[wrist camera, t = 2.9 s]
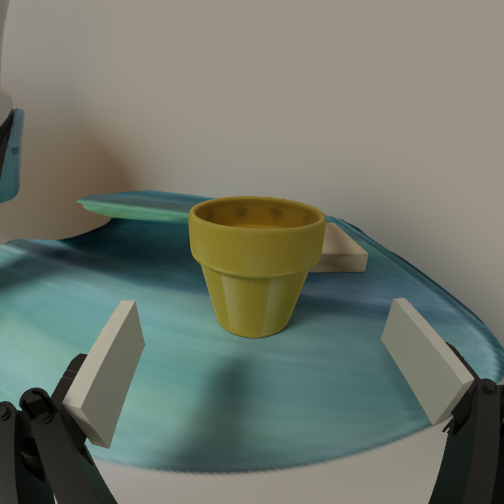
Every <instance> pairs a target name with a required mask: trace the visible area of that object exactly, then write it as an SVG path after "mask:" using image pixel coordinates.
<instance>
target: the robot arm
mask: <svg viewBox="0 0 504 504" xmlns="http://www.w3.org/2000/svg"><path fill="white" fill-rule="evenodd" d="M8 4H9V0H0V70H1V53H2V42H3V33H4V26H5V20H6V14H7V9H8ZM23 124H24V110H23V109H18V108H16V109H14V110H12V97H11V95H10V94H9V93H8V92H7V91H5V90H3V89H1V88H0V203H3V202H6V201H9V200H11V199H13V198H14V197H15V196H16V195H17V193H18V191H19V188H20V169H21V149H22V136H23ZM381 341H382V342H383V344H384V345H385V347H386V348H387V350H388V351H389V353H390V355H391V356H392V358H393V359H394V361H395V363H396V364H397V366H398V367H399V369H400V371H401V372H402V374H403V376H404V377H405V379H406V380H407V382H408V384H409V385H410V387H411V389H412V390H413V392H414V394H415V396H416V397H417V399H418V401H419V402H420V404H421V406H422V408H423V409H424V411H425V413H426V415H427V416H428V418H429V420H430V422H431V424H432V425H433V426H434V425H436V424H438V423H441V422H443V421H445V420H446V418H447V417H448V416H449V415H450V413H452V414H453V416H454V417H453V418H452V419H451V420H450V422H449V423H448V424H447V425H446V426H445V428H444V429H443V431H442V432H445V431H446V429H447V428H448V427H449V431H448V432H447V433H448V437H447V442H446V447H445V451H444V455H443V459H442V463H441V467H440V470H439V474H438V477H437V480H436V484H435V486H434V489H433V492H432V495H431V498H430V501H429V503H428V504H504V385H496V383H495V382H493V381H492V380H490V379H485V378H484V379H480V378H479V377H478V375H477V374H476V373H475V372H474V370H473V369H472V368H471V367H470V365H469V364H468V363H467V362H466V361H464V358H463V357H462V356H461V355H460V353H459V352H458V351H457V350H456V349H455V347H453V346H452V345H450V344H449V343H447V342H444V341H443V339H442V338H441V337H440V336H439V335H438V334H437V333H436V331H435V330H434V329H433V328H432V327H431V326H430V325H429V323H428V322H427V321H426V320H425V319H424V318H423V317H422V316H421V315H420V314H419V312H418V311H417V310H416V309H415V308H414V307H413V306H412V305H411V304H410V303H409V302H408V301H407V300H406V299H405V298H394V299H393V302H392V306H391V309H390V312H389V315H388V318H387V322H386V325H385V328H384V330H383V333H382V336H381ZM144 346H145V342H144V338H143V334H142V329H141V325H140V321H139V316H138V311H137V307H136V302H135V301H129V300H121V301H120V303H119V305H118V306H117V308H116V309H115V311H114V312H113V314H112V316H111V317H110V319H109V320H108V322H107V324H106V325H105V327H104V328H103V330H102V332H101V333H100V335H99V337H98V338H97V340H96V342H95V343H94V345H93V347H92V349H91V350H90V352H89V354H88V355H86V354H81V353H80V354H79V355H78V356H76V357H75V358H74V359H73V360H72V361H71V362H70V364H69V366H68V367H67V371H65V373H64V374H63V378H61V380H60V381H59V383H58V385H57V387H56V388H55V390H54V392H53V394H52V396H51V398H50V397H49V395H48V394H47V392H46V391H45V390H43V389H41V388H31V389H29V390H27V391H25V392H24V393H23V394H22V396H21V398H20V401H19V406H20V407H21V409H22V410H23V411H20V410H17V409H16V408H15V407H14V405H13V404H12V403H10V402H7V401H3V402H0V504H55V501H54V495H55V498H56V500H57V502H58V504H118V503H117V502H116V500H115V499H114V497H113V495H112V494H111V492H110V490H109V489H108V487H107V485H106V484H105V482H104V480H103V478H102V476H101V475H100V473H99V471H98V469H97V467H96V465H95V463H94V461H93V459H92V457H91V455H90V453H89V451H88V448H87V447H86V445H85V444H84V443H85V441H86V438H88V439H89V440H90V442H91V443H92V444H94V445H97V446H101V447H105V448H110V444H111V441H112V438H113V434H114V431H115V428H116V425H117V422H118V419H119V416H120V413H121V410H122V407H123V404H124V401H125V398H126V395H127V392H128V389H129V386H130V383H131V381H132V378H133V375H134V372H135V370H136V367H137V364H138V362H139V359H140V356H141V354H142V351H143V349H144ZM53 493H54V495H53Z"/></svg>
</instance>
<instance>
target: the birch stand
mask: <svg viewBox="0 0 504 504" xmlns="http://www.w3.org/2000/svg"><path fill="white" fill-rule="evenodd" d="M367 259H368V253H367V252H366V251H365V250H364V249H363V248H362V247H360V246H359V245H358V244H357V243H356V242H355V241H354V240H353V239H352V238H350V237H349V236H348V235H347V234H346V233H345V232H344V231H342V230H341V229H340V228H339V227H338V226H337V225H336V224H334V223H326V228H325V235H324V242H323V248H322V253H321V257H320V259H319V261H318V263H317V264H316V265H315V266H313V267H312V268H310V270H309V272H365V269H366V264H367Z"/></svg>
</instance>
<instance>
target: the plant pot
mask: <svg viewBox="0 0 504 504" xmlns="http://www.w3.org/2000/svg"><path fill="white" fill-rule="evenodd" d="M325 228H326V216H325V214H324V213H323V212H321V211H320V210H319V209H317V208H315V207H313V206H310V205H308V204H304V203H300V202H296V201H292V200H286V199H280V198H271V197H256V196H240V197H225V198H218V199H213V200H208V201H205V202H202V203H199V204H197V205H195V206H194V207H192V208H191V210H190V212H189V236H190V246H191V252H192V255H193V257H194V258H195V259H196V260H197V261H198V262H199V263H200V264H201V266H202V270H203V273H204V277H205V280H206V284H207V287H208V291H209V294H210V297H211V301H212V304H213V308H214V311H215V314H216V317H217V320H218V322H219V324H220V325H221V326H222V327H223V328H224V329H225V330H227V331H229V332H230V333H233V334H235V335H238V336H242V337H247V338H261V337H267V336H270V335H273V334H276V333H278V332H279V331H281V330H282V329H283V328H284V327H285V326H286V325H287V324H288V322H289V320H290V318H291V315H292V313H293V310H294V308H295V305H296V303H297V300H298V298H299V295H300V293H301V290H302V288H303V285H304V283H305V280H306V278H307V275H308V272H309V270H310V268H312V267H313V266H315V265H316V264H317V263H318V261H319V259H320V257H321V253H322V248H323V242H324V235H325Z"/></svg>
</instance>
